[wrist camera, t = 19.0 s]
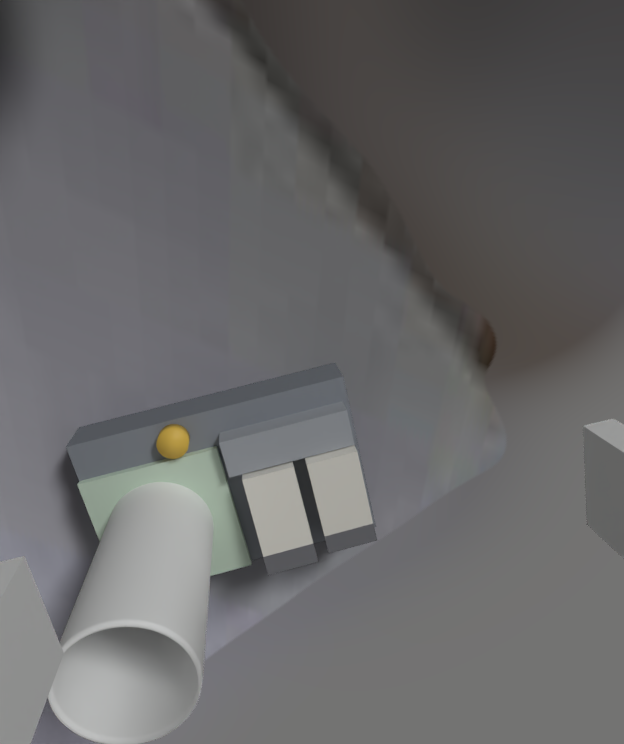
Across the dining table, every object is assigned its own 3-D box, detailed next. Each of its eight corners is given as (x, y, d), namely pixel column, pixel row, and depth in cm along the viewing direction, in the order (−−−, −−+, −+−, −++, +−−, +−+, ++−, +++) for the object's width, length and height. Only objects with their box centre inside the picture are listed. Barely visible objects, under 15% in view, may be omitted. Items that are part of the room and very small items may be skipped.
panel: (79, 427, 48) (54, 464, 41) (335, 362, 49) (350, 388, 42) (132, 566, 52) (116, 619, 46) (366, 503, 53) (384, 547, 47)
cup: (177, 587, 48) (150, 766, 33) (89, 542, 46) (15, 711, 31) (233, 513, 47) (231, 663, 32) (144, 463, 45) (97, 598, 29)
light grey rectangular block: (241, 480, 44) (268, 575, 45) (293, 466, 44) (318, 561, 45) (242, 470, 45) (267, 562, 47) (292, 458, 46) (315, 549, 47)
